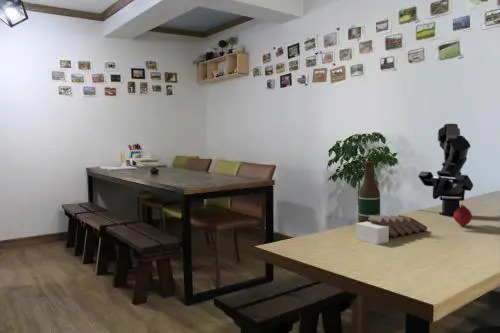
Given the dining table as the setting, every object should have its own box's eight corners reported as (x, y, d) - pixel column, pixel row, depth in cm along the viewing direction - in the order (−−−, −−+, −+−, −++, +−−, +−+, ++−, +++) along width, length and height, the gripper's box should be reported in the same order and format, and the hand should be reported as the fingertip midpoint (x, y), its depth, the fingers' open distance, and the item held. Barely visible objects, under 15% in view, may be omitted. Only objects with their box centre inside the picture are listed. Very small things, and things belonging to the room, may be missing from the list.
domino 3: (400, 227, 144) (383, 215, 139) (412, 230, 140) (396, 217, 135) (398, 232, 144) (382, 219, 139) (411, 234, 140) (394, 222, 135)
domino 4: (407, 226, 146) (391, 215, 141) (420, 228, 142) (403, 217, 137) (406, 230, 146) (389, 219, 141) (418, 233, 142) (401, 222, 137)
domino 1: (386, 230, 140) (370, 215, 136) (398, 233, 136) (382, 217, 132) (384, 234, 140) (368, 219, 135) (396, 238, 136) (380, 221, 131)
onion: (467, 224, 153) (468, 203, 153) (474, 228, 147) (475, 205, 147) (451, 224, 154) (451, 203, 153) (457, 228, 148) (457, 205, 147)
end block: (366, 236, 138) (366, 221, 138) (388, 242, 131) (388, 226, 130) (355, 238, 136) (355, 223, 136) (377, 244, 128) (377, 228, 128)
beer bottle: (355, 227, 151) (356, 161, 149) (360, 223, 158) (361, 160, 156) (377, 229, 148) (378, 162, 146) (382, 225, 154) (382, 160, 152)
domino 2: (393, 229, 142) (377, 215, 137) (405, 232, 138) (389, 218, 133) (391, 233, 142) (375, 219, 137) (404, 236, 138) (387, 222, 133)
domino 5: (415, 224, 148) (398, 214, 143) (427, 227, 144) (410, 217, 139) (413, 228, 148) (397, 219, 143) (426, 231, 144) (409, 221, 139)
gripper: (486, 182, 149) (468, 216, 145) (439, 177, 165) (421, 208, 161) (474, 161, 145) (455, 196, 140) (427, 159, 161) (408, 189, 156)
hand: (434, 198), depth 149 cm, fingers closed
